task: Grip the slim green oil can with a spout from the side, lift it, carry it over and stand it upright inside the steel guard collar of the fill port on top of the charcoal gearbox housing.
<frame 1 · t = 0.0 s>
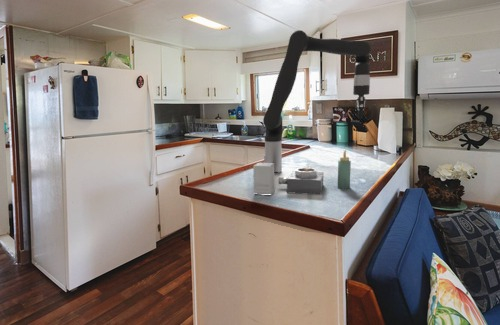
hand: (360, 118, 157), 29 cm above the table, tool pointing down, fingers open, 8 cm apart
supplement box: (264, 193, 132), on the table
gearbox: (305, 188, 137), on the table
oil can: (343, 187, 138), on the table
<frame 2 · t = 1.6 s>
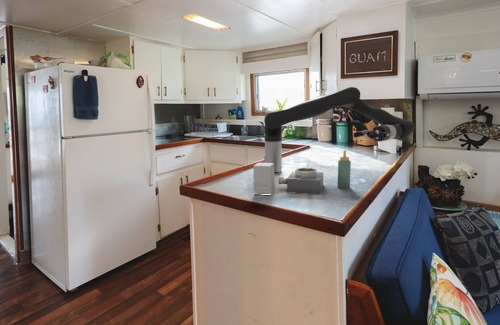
hand: (362, 135, 139), 22 cm above the table, tool horizontal, fingers open, 8 cm apart
nothing on the table moved.
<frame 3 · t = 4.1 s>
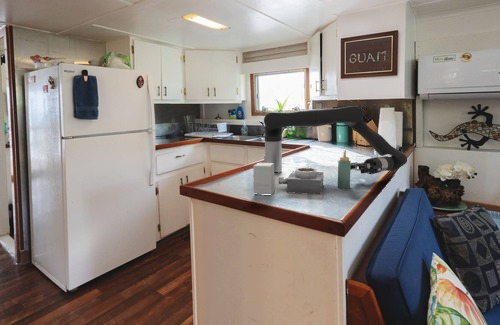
hand: (353, 169, 140), 7 cm above the table, tool horizontal, fingers open, 8 cm apart
nothing on the table moved.
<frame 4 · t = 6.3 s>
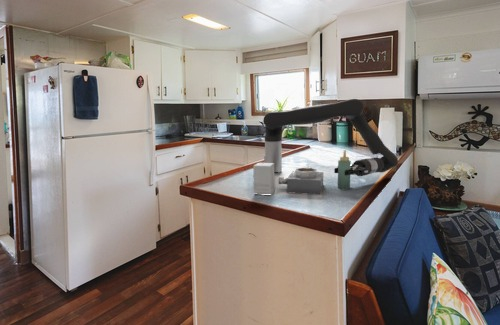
hand: (340, 171, 135), 8 cm above the table, tool horizontal, fingers closed on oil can, 5 cm apart
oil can: (343, 187, 138), on the table, touching gripper
everything else where it was.
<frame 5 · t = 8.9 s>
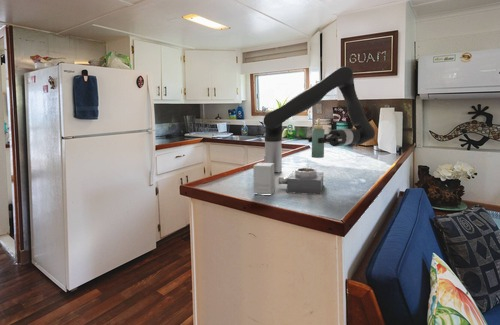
hand: (313, 140, 132), 22 cm above the table, tool horizontal, fingers closed on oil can, 5 cm apart
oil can: (317, 156, 135), point 14 cm above the table, touching gripper
everything else where it was.
when the fingers open (15 cm above the table, at t = 11.5 s): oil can drops 1 cm, resting on gearbox.
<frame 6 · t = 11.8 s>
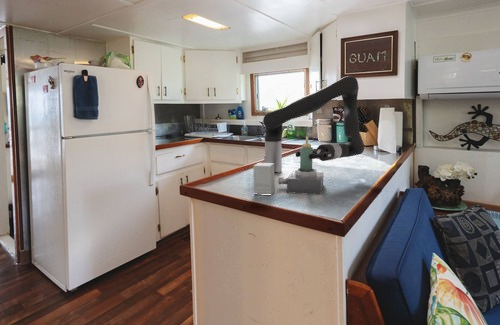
hand: (302, 155, 134), 15 cm above the table, tool horizontal, fingers open, 8 cm apart
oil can: (306, 174, 136), point 6 cm above the table, touching gearbox
everything else where it was.
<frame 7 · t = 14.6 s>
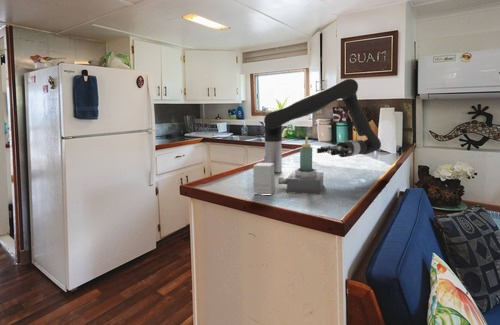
hand: (324, 151, 141), 15 cm above the table, tool horizontal, fingers open, 8 cm apart
nothing on the table moved.
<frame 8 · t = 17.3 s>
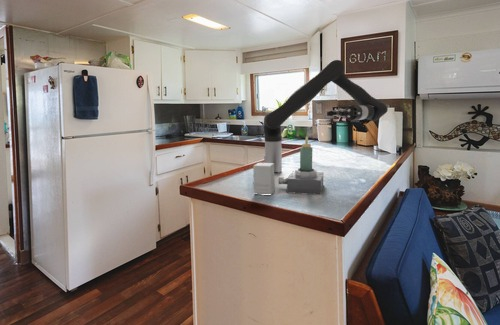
hand: (334, 113, 147), 32 cm above the table, tool horizontal, fingers open, 8 cm apart
nothing on the table moved.
at the end: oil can 0.1 cm off-centre on the gearbox, point 6.2 cm above the gearbox's base; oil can tilted 0°; the gripper is holding nothing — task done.
